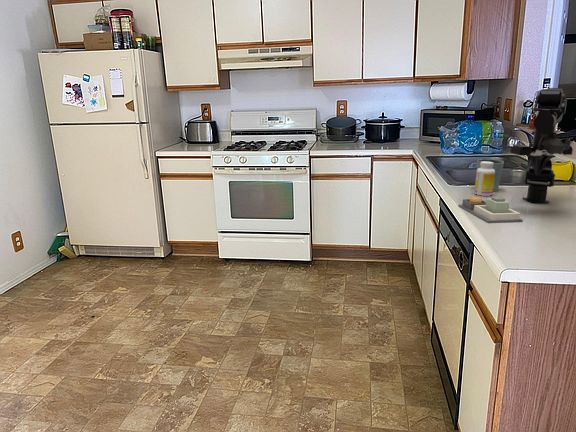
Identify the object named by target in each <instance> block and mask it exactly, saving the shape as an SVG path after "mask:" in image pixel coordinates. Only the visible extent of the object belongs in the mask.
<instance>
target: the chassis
mask: <svg viewBox="0 0 576 432" xmlns="http://www.w3.org/2000/svg"><path fill="white" fill-rule="evenodd" d="M469 200H470V198H465V199H464V198H463V199H462V204H458V206H457V207H459V208H460V209H463V210H464V211H466V212H468V213H470V214H471V215H473V216H475V217H476V218H478V219H480V220H481V221H484V222H485V223H487V224H495V223H523V219H522V218H521V213H520V212H518V211H516V210H514V209H511V208H510V207H509V211H508V213H491V212H489V211H487V210H485V206H486V200H483V199H482V203H471V202H469Z"/></svg>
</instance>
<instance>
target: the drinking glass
mask: <svg viewBox="0 0 576 432" xmlns="http://www.w3.org/2000/svg"><path fill="white" fill-rule="evenodd" d="M482 161H488V162H493V163H494V164H493V167H492V168H493V169H494V170H495V178H494V186H493V191H495V192H498V191H499V187H500V182H501V181H500V180H501V177H502V172H503V169H504V165H505V161H504V160H501V159H496V158H495V159H494V158H480V159H477V161H476V170H477V169H479V168H480V167H481V166H480V162H482Z"/></svg>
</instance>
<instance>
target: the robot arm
mask: <svg viewBox="0 0 576 432" xmlns="http://www.w3.org/2000/svg"><path fill="white" fill-rule="evenodd" d="M565 95H566V93H564V91H563V88H561V87H549V88H546V89H540V90H539V92H537V93H536V97H535V102H534V107H533V111H534V112H538V113H537V115H536V116H535V117H534V120H533V127H534V130H532V132H531V135H533V140H532V142H531V143H530V145H525V144H513V145H512V146H511V147H510V154H513V155H518V156H528V159H529V161H530V163H529V167H527V169H526V174H525V181H524V184H525V185H528V188H527V193H526V197H522V199H523V200H525V201H527V202H530V203H531V204H541V203H542V204H544V203H549V204H550V201H549V200H547V196H548V188H552V187H554V185H555V179H556V178H555V177H556V174H555V172H554V170H553V163H552V160H551V159H553V158H556V155H554V154H558V155H562V154H563V155H564V156H567V155H569V156H571V155H573V151H574V150H573V146H572V145H571V139H570V138H568V137H567V138H566V137H565V138H563V137H562V138H558V132H555V131H556V126H557V125H558V124H559V123H560V122H561V121H562V119H563V115H565V114H566V108H567V102H568V99H567V97H566V96H565Z"/></svg>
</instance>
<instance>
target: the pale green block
mask: <svg viewBox="0 0 576 432" xmlns="http://www.w3.org/2000/svg"><path fill="white" fill-rule="evenodd" d="M485 202H486V206H485V210H487V211H489V212H491V213H508V211H509V208H510V204H511V203H510V201H508V200H506V199H505V198H504V197H502V196H491V197H489V198H486V200H485Z"/></svg>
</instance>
